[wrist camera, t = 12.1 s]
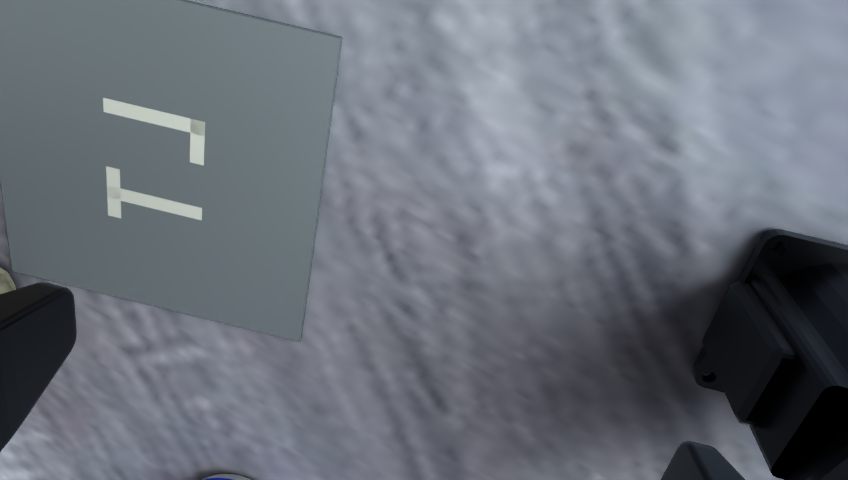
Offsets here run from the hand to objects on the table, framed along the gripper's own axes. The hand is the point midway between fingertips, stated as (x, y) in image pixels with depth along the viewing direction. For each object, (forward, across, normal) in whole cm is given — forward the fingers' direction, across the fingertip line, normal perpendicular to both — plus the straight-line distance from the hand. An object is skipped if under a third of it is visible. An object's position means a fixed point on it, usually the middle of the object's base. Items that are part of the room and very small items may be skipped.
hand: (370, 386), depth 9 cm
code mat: (+13, +10, +4) cm, 17 cm away
